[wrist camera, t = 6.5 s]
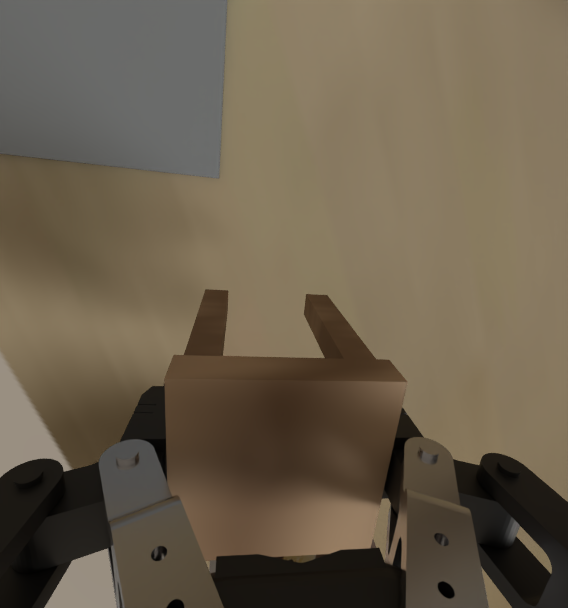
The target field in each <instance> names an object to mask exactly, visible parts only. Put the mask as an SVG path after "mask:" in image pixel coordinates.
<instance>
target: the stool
mask: <svg viewBox="0 0 568 608" xmlns="http://www.w3.org/2000/svg"><path fill="white" fill-rule="evenodd" d="M227 311H228V291H226V290H205V293H204V296H203V299H202V302H201V305H200V308H199V311H198V314H197V317H196V320H195V323H194V326H193V329H192V332H191V335H190V338H189V341H188V344H187V347H186V350H185V353H184V355H174V356H173V358H172V361H171V363H170V366H169V368H168V371H167V374H166V376H165V379H164V381H165V418H166V455H167V484H168V486H169V489H170V492H171V494H172V496H175V495H178V496H179V497H180V499H181V501H182V504H183V506H184V509H185V511H186V514H187V516H188V519H189V521H190V524H191V526H192V529H193V532H194V534H195V537H196V539H197V542H198V544H199V547H200V549H201V552H202V554H203V557H204V559H205V561H211V560H216V556H231V555H250V554H260V555H265V556H270V557H283V556H301V555H319V554H330V553H333V552H336V551H339V550H346V549H366V548H371V544H372V540H373V535H374V531H375V526H376V522H377V517H378V513H379V508H380V504H381V499H382V495H383V490H384V486H385V481H386V477H387V472H388V468H389V463H390V459H391V454H392V450H393V445H394V441H395V436H396V432H397V427H398V423H399V418H400V414H401V409H402V405H403V400H404V396H405V391H406V387H407V381H406V379H405V378H404V377H403V376H402V375H401V373H400V372H399V371H398V370H397V369H396V368H395V366H394V365H393V364H392V363H391V362H390V360H376V358H375V357H374V356H373V354H372V353H371V352H370V351H369V349H368V348H367V347H366V345H365V344H364V343H363V341H362V340H361V339H360V338H359V336H358V335H357V334H356V332H355V331H354V330H353V328H352V327H351V326H350V324H349V323H348V322H347V321H346V319H345V318H344V317H343V315H342V314H341V313H340V311H339V310H338V309H337V308H336V306H335V305H334V304H333V302H332V301H331V300H330V298H329V297H328V296H327V295H311V294H306V301H305V310H304V315H305V317H306V319H307V322H308V324H309V326H310V328H311V330H312V332H313V334H314V336H315V338H316V340H317V342H318V344H319V347H320V349H321V351H322V353H323V355H324V357H325V358H286V357H240V356H223V349H224V340H225V330H226V321H227Z"/></svg>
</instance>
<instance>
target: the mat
mask: <svg viewBox="0 0 568 608" xmlns="http://www.w3.org/2000/svg"><path fill="white" fill-rule="evenodd" d="M226 15H227V0H0V154H8V155H17V156H26V157H34V158H43V159H52V160H61V161H70V162H79V163H87V164H96V165H105V166H114V167H123V168H131V169H140V170H149V171H158V172H167V173H176V174H184V175H193V176H202V177H211V178H219V168H220V146H221V125H222V103H223V81H224V59H225V37H226Z"/></svg>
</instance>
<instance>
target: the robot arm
mask: <svg viewBox="0 0 568 608" xmlns="http://www.w3.org/2000/svg"><path fill="white" fill-rule="evenodd" d="M382 498H389V500H390V502H391V505H390V509H389V515H388V529H387V543H386V557H385V562H384V560H383V557H382V554H381V552H380V549H379V548H366V549H346V550H339V551H336V552H333V553H330V554H327V555H325V556H322V557H319V558H316V559H313V560H310V561H307V562H304V563H299V562H293V561H289V560H284V559H279V558H275V557H270V556H265V555H260V554H250V555H231V556H216V570H215V572H213V573H210V572H209V569H208V567H207V564H206V562H205V559H204V557H203V554H202V552H201V549H200V547H199V544H198V542H197V539H196V537H195V534H194V532H193V529H192V526H191V524H190V521H189V519H188V516H187V514H186V511H185V509H184V506H183V504H182V501H181V499H180V497H179V496H178V495H175V496H172V494H171V492H170V489H169V486H168V484H167V455H166V418H165V383H164V386H152V387H151V388H150V389H148V390H147V391H146V392H145V393H144V394H142V396H141V398H140V400H139V402H138V406H137V407H136V409H135V411H134V414H133V415H132V417H131V419H130V421H129V424H128V426H127V428H126V430H125V432H124V434H123V436H122V438H121V441H120V442H119V443H117V444H114V445H113V446H111V447H110V448H108V449H107V450H106V451H105V452H104V453H103V454H102V455H101V457H100V459H99V462H97V463H95V464H92V465H89V466H86V467H82V468H78V469H74V470H69V471H66V472H63V467H62V465H61V464H60V463H59V462H58V461H56V460H52V459H37V460H32V461H28V462H25V463H23V464H20V465H18V466H16V467H15V468H13V469H11V470H9V471H8V472H7V473H5V474H4V475H3V476H2V477H1V478H0V608H44V607H45V605H46V604H47V602H48V600H49V599H50V597H51V595H52V594H53V592H54V590H55V589H56V587H57V585H58V584H59V582H60V580H61V579H62V577H63V575H64V574H65V572H66V570H67V568H68V567H69V565H70V563H71V561H72V560H74V559H77V558H80V557H83V556H86V555H89V554H92V553H95V552H98V551H101V550H104V549H107V548H108V554H109V561H110V567H111V574H112V580H113V587H114V593H115V599H116V605H117V608H489V606H488V600H487V595H486V590H485V584H484V579H483V574H482V569H481V567H482V568H483V569H484V571H485V572H486V573H487V575H488V576H489V577H490V579H491V580H492V581H493V583H494V584H495V585H496V587H497V588H498V589H499V590H500V592H501V593H502V594H503V596H504V597H505V598H506V600H507V601H508V602H509V604H510V605H511V606H512V608H568V502H567V501H566V500H565V499H563V498H562V497H561V496H560V495H559V494H557V493H556V492H555V491H554V490H553V489H552V488H550V487H549V486H548V485H547V484H546V483H545V482H543V481H542V480H541V479H540V478H539V477H537V476H536V475H535V474H534V473H533V472H532V471H530V470H529V469H528V468H527V467H526V466H524V465H523V464H522V463H520V462H519V461H517V460H515V459H513V458H511V457H508V456H506V455H502V454H498V453H488V454H485V455H484V456H483V457H482V459H481V462H480V465H475V464H471V463H466V462H462V461H458V460H454V459H453V457H452V455H451V454H450V452H449V451H448V450H447V449H446V448H445V447H444V446H442V445H441V444H439V443H438V442H436V441H433V440H431V439H428V438H424V437H423V436H422V434H421V433H420V431H419V430H418V429H417V427H416V426H415V424H414V423H413V422H412V420H411V419H410V417H409V416H408V415H407V413H406V412H405V410H404V409H403V408H402V409H401V414H400V418H399V423H398V427H397V432H396V436H395V441H394V445H393V450H392V454H391V459H390V463H389V468H388V472H387V477H386V481H385V486H384V490H383V495H382ZM520 526H521V527H522V528H523V529H524V530H525V531H526V532H527V533H528V534H529V535H530V536H531V537H532V539H533V540H534V541H535V542H536V543H537V544H538V545H539V546H540V547H541V548H542V549H543V550H544V551H545V553H546V554H547V556H548V557H549V560H550V562H551V565H552V574H550V573H549V572H548V570H547V569H546V568H545V567H544V566H543V565H542V564H541V563H540V562H539V561H538V560H537V559H536V557H535V556H534V555H533V554H532V553H531V552H530V551H529V550H528V549H527V548H526V547H525V545H524V544H523V543H522V542H521V541H520V540H519V539H518V538H517V537H516V535H517V532H518V530H519V527H520Z"/></svg>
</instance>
